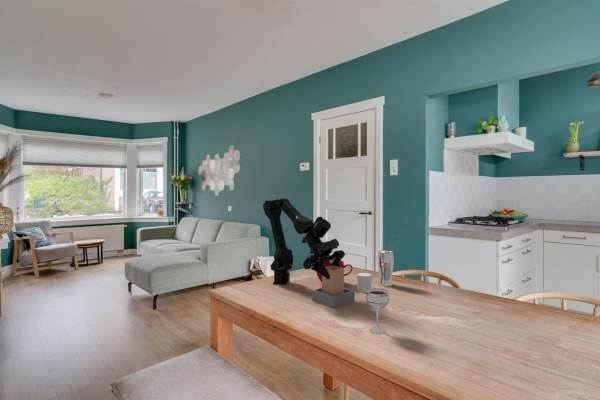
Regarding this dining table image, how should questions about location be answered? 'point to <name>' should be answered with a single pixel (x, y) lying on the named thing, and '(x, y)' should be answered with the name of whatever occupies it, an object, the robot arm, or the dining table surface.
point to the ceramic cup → (327, 263)
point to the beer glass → (385, 267)
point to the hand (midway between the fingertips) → (335, 277)
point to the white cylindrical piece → (364, 281)
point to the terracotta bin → (333, 281)
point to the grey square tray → (333, 298)
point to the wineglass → (377, 304)
